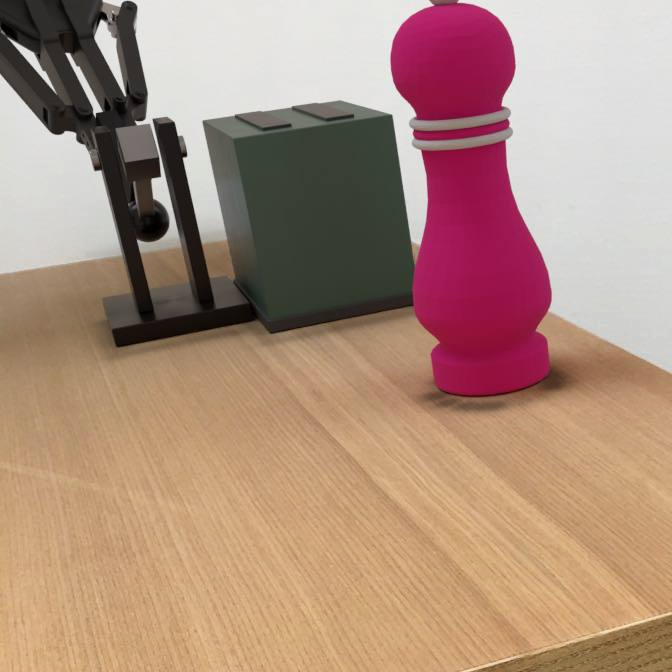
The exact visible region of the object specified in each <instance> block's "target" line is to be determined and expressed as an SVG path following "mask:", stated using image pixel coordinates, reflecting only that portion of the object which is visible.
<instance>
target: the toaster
mask: <svg viewBox="0 0 672 672" xmlns="http://www.w3.org/2000/svg"><path fill="white" fill-rule="evenodd" d="M201 123H202V128H203V131H204V136H205V137H204V138H205V140H206V142H205V143H206V144H207V145H206V146H207V151H208V156H209V160H210V165H211V169H212V174H213V179H214V183H215V189H216V193H217V198H218V202H219V208H220V212H221V217H222V222H223V226H224V230H225V235H226V241H227V246H228V251H229V255H230V259H231V264H232V269H233V273H234V274H233V275H234V277H235V278H233V279H232V282H233V283H234V284H235V285H236V286H237V288H238V289H239V290H240V291H241V293H242V294H243V295H244V296H245V297H246V299H247V300H248V301H249V302H250V304H251V309H252V313H253V315H255V316H256V318H257V319H258V320H259V321H260V323H261V324H262V325H263V327H264V328H265V329H266V330H267V331H268V333H269V334H272V333H278V332H283V331H288V330H293V329H298V328H303V327H307V326H313V325H318V324H323V323H327V322H334V321H338V320H343V319H348V318H352V317H358V316H362V315H367V314H373V313H379V312H382V311H388V310H393V309H398V308H403V307H408V306H414V302H413V280H414V271H415V265H416V263H415V258H414V250H413V244H412V238H411V231H410V224H409V217H408V210H407V204H406V196H405V190H404V189H405V188H404V183H403V176H402V169H401V164H400V163H401V162H400V156H399V150H398V149H399V148H398V143H397V135H396V129H395V123H394V115H393V114H392V113H388V112H384V111H380V110H377V109H373V108H370V107H366V106H363V105H359V104H355V103H351V102H348V101H344V100H333V101H326V102H311V103H304V104H298V105H297V104H296V105H292V106H291V107H284V108H278V109H271V110H265V111H263V110H257V111H250V112H243V113H236V114H235V113H234V115H229V116H223V117H216V118H210V119H209V118H208V119H203V120H202V121H201Z"/></svg>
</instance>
